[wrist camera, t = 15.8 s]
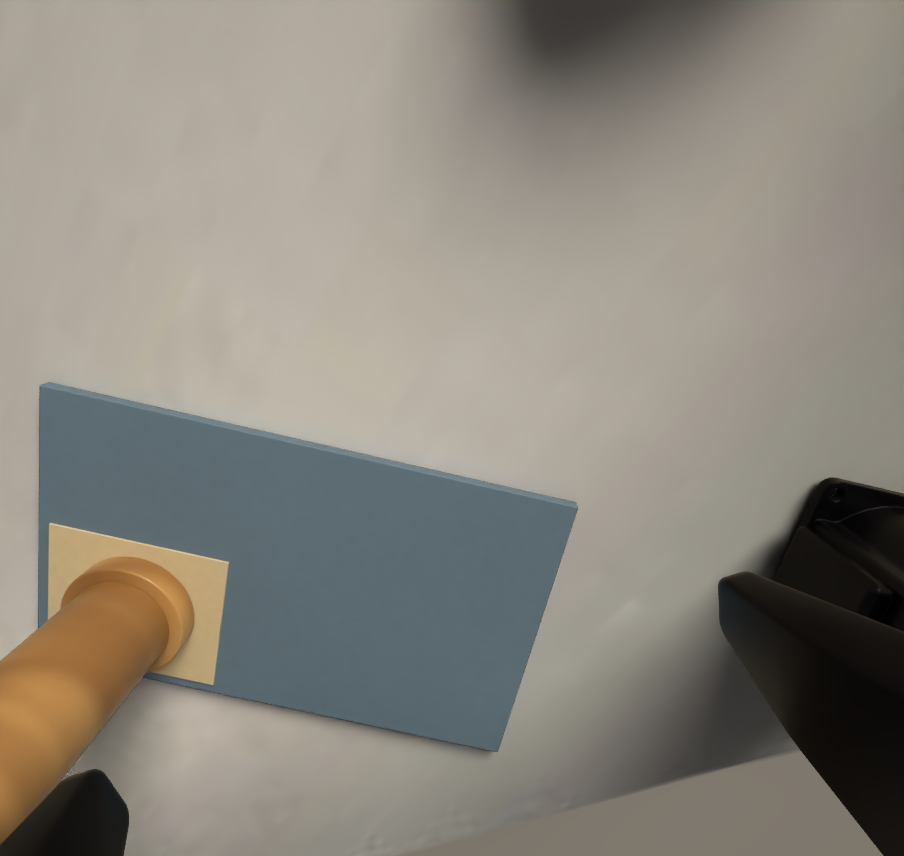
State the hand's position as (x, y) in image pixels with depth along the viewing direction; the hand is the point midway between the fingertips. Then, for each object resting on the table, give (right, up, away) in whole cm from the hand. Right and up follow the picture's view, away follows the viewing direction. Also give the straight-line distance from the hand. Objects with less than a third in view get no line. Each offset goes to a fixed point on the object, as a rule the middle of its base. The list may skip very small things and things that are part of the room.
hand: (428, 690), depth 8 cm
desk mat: (-6, -2, +14) cm, 16 cm away
